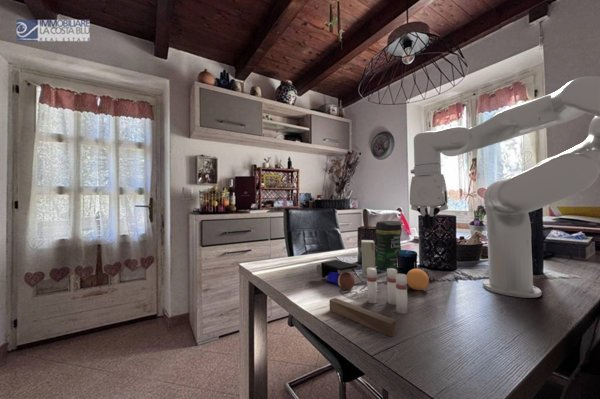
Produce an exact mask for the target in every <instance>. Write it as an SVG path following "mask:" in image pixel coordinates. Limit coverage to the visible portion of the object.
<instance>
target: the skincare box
mask: <svg viewBox="0 0 600 399" xmlns="http://www.w3.org/2000/svg"><path fill="white" fill-rule="evenodd" d="M360 243H361V245H360V247H361V273H362V278H366V279H367V268H376V250H375V249H376V247H375V245H376V244H375V243H376V242H375V241H374V240H372V239H361V242H360Z"/></svg>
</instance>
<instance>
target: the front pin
mask: <svg viewBox="0 0 600 399" xmlns="http://www.w3.org/2000/svg"><path fill="white" fill-rule="evenodd" d="M396 274H398V269H393V268H388V269H387V270H386V283H387V285H386V286H387V288H386V289H387V303H388V305H393V306H394V305H395V306H397V305H396Z"/></svg>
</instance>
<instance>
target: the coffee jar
mask: <svg viewBox="0 0 600 399" xmlns="http://www.w3.org/2000/svg"><path fill="white" fill-rule="evenodd" d="M402 232H403V231H402V223H401V222H400V221H398V220H381V221H377V222H376V223H375V233H376V237H377V238H376V239H377V240H376V241H377V242H376V245H377V246H376V256H375V267H377V268H378V269H379V270H385V271H387V269H388V268H393V269H397V268H398V267H397V252H400V251H401V252H402V248H401V247H402V245H401V244H402V242H401V235H402ZM397 270H398V269H397Z"/></svg>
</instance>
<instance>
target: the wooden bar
mask: <svg viewBox="0 0 600 399" xmlns="http://www.w3.org/2000/svg"><path fill="white" fill-rule="evenodd" d="M328 305H329V311H330V312H333V313H335V314H337V315H340V316H341V317H344V318H346V319H349V320H352V321H354V322H356V323H358V324H360V325H363V326H365V327H367V328H369V329H372V330H375V331H376V332H379V333H382V334H383V335H387V336H389V337H391V338H392V337H393V336H395V335H396V334H397V320H396V319H393V318H391V317H388V316H386V315H384V314H380V313H377V312H375V311H372V310H369V309H367V308H363V307H361V306H359V305H355V304H353V303H350V302H348V301H344V300H342V299H339V298H336V297H333V298H331V299H329V304H328Z"/></svg>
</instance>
